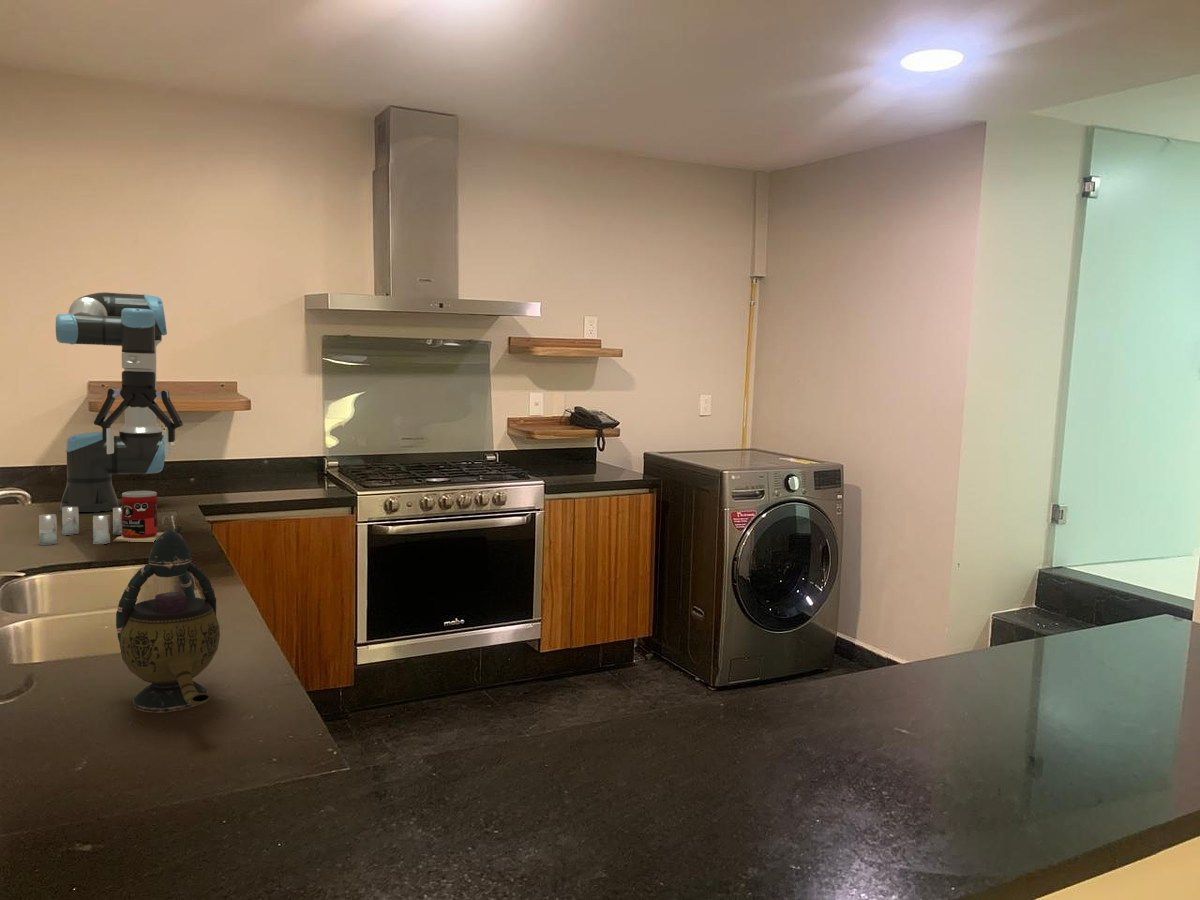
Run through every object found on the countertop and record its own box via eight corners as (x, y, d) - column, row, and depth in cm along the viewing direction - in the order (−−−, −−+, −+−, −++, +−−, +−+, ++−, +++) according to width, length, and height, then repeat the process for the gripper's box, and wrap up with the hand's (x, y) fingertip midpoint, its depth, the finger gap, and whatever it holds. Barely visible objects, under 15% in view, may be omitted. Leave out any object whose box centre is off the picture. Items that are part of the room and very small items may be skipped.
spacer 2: (66, 532, 230) (65, 506, 229) (81, 533, 230) (80, 506, 230) (60, 535, 226) (59, 508, 226) (75, 535, 227) (75, 508, 226)
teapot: (202, 672, 130) (201, 514, 128) (253, 730, 110) (254, 544, 108) (108, 688, 122) (106, 520, 120) (145, 752, 102) (144, 553, 101)
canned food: (114, 536, 223) (114, 493, 222) (139, 531, 230) (139, 489, 229) (139, 539, 221) (139, 495, 220) (164, 534, 228) (163, 491, 227)
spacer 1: (43, 542, 217) (43, 514, 216) (59, 542, 218) (59, 514, 217) (36, 545, 213) (36, 516, 213) (53, 545, 214) (52, 516, 213)
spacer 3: (96, 542, 219) (96, 514, 218) (112, 542, 220) (112, 514, 219) (90, 545, 215) (90, 516, 215) (106, 545, 216) (106, 516, 216)
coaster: (127, 535, 230) (127, 532, 230) (165, 535, 231) (165, 532, 231) (113, 542, 220) (113, 539, 220) (152, 542, 221) (152, 539, 221)
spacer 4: (116, 533, 232) (115, 506, 231) (130, 533, 232) (130, 506, 232) (110, 535, 228) (110, 508, 228) (126, 535, 229) (125, 508, 228)
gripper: (78, 368, 218) (79, 454, 220) (186, 372, 222) (187, 457, 224) (90, 368, 226) (91, 451, 228) (195, 372, 230) (195, 453, 232)
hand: (139, 454), depth 226 cm, fingers open, 13 cm apart
